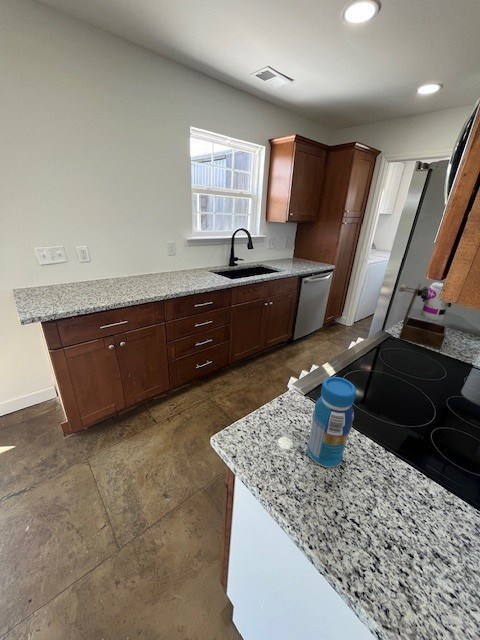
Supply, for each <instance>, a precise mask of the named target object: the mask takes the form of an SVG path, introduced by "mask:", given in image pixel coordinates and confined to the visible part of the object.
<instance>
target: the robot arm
mask: <svg viewBox="0 0 480 640" xmlns="http://www.w3.org/2000/svg"><path fill="white" fill-rule="evenodd" d="M433 283H436V281H435V280H434V282H433ZM437 283H444V282H437ZM428 291H429V287H428V286H423V287H422V288H420V289H419V291H418V294H417V297H420V299H421V300H422V303H425V300H426V297H427V294H428ZM451 306H452V304H451V303H449V304H448V307H447V308H451Z"/></svg>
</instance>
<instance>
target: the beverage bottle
mask: <svg viewBox="0 0 480 640" xmlns="http://www.w3.org/2000/svg"><path fill="white" fill-rule="evenodd" d="M356 396H357V388H356V386H355V385H354V384H353V383H352V382H351V381H349V380H347V379H346V378H344V377H339V376H330V377H326V378H325V379H324V380H323V382H322V385H321V389H320V397H319V398H318V399H317V400H316V401H315V405H314V410H313V412H312V415H311V416H312V417H311V420H312V422H311V428H310V433H309V439H308V442H307V447H306V451H307V453H308V456H309V458H310V459H311V460H312V461H313V462H315V464H317V465H319V466H321V467H324V468H335V467H338V466H339V465H340V464H341V463H342V462H343V459H344V454H345V448H346V446H347V441H348V437H349V434H350V433H351V432H352V428H353V421H354V418H355V412H354V407H353V405H354V402H355V399H356Z"/></svg>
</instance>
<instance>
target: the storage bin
mask: <svg viewBox="0 0 480 640" xmlns="http://www.w3.org/2000/svg"><path fill="white" fill-rule="evenodd" d="M447 331H448V325H444V324H440V323H435V322H431V321H428V320H423V319H419V318H414V317H410V316H409V317H408V319H407V320H406V322H405V324H402V326H401V329H400V333H399V337H398V339H400V340H403V341H407V342H410V343H414V344H417V345H421V346H424V347H427V348H431V349H435V350H439V351H441V348H442V346H443V343H444V341H445V339H446V335H447Z"/></svg>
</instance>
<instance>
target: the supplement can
mask: <svg viewBox="0 0 480 640" xmlns="http://www.w3.org/2000/svg"><path fill="white" fill-rule="evenodd" d="M442 286H443V283H437V282H436V283H434V282H432V284H430V285H429V287H428V289H429V291H428V294H427V297H426V300H425V302H423V303H424V304H423V307H422V309H421V313H420V315H421V317H422V318H423V319H426V320H427V321H433V322H440V321H443V320H444V319H445V316H446V313H447V310H448V308H449V307H448V304H449V303H445V302H442V301H439V299H438V297H439V294H440V292H441V289H442Z"/></svg>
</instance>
